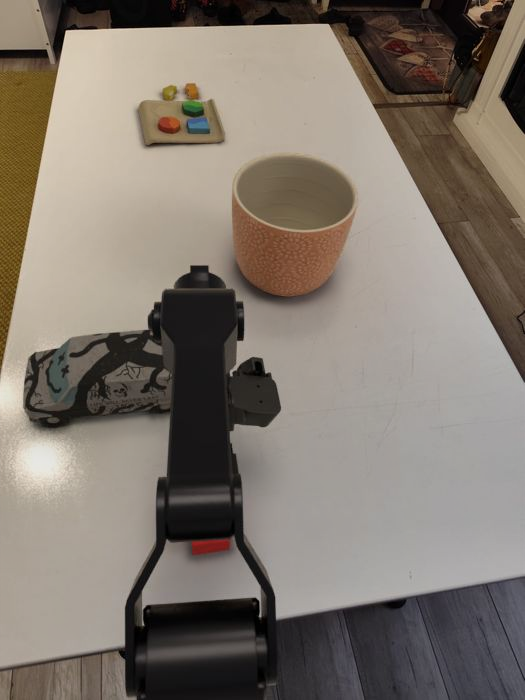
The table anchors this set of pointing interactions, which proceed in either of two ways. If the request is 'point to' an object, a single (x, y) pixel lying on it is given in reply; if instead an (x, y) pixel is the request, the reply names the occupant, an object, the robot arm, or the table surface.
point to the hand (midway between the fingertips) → (203, 448)
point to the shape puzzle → (180, 119)
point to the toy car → (97, 378)
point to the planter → (290, 221)
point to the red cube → (210, 546)
